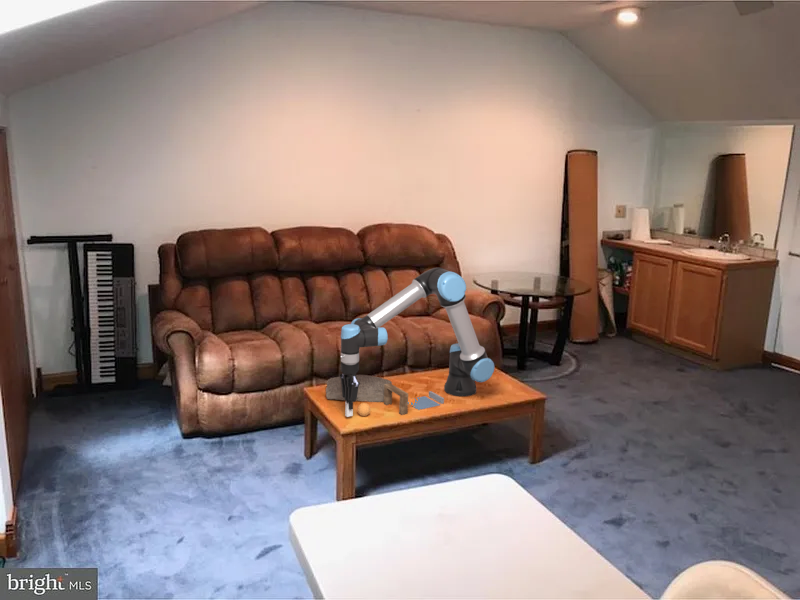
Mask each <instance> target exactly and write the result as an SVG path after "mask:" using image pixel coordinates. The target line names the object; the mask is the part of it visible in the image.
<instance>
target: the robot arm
mask: <svg viewBox="0 0 800 600" xmlns="http://www.w3.org/2000/svg"><path fill="white" fill-rule="evenodd" d="M466 291H467V284H466V282H465V280H464V278H463V277H462V276H461V275H459V274H458V273H457V272H454V271H450V270H448V269H446V268H442V267H433V268H430V269H428V270H426V271H424V272H423V273H421V274H420V275H418V276H417V277H414V278H413V280H411V284H409V285H407V287H405V288H404V289H402V290H400V291H399V292H397V293H396V294H395V295H393V296H392V297H390V298H389V299H387V300H386V301H385V302H383V303H382V304H381V305H379V306H378V307H376V308H375V309H373V310H372V311H371V312H369V313H368V314H367V315H365V316H363V317H362V318H359V317H358V318H355V319H353V320H352V321H351V323H349V324H344V325H343V326H342V327H341V332H340V372H341V373H340V374H339V377H340V379H341V386H342V396H343V398H345V400H344V401H345V408H344V409H345V417H347V418H348V417H353V415H354V414H353V413H354V402H355V403H356V402H357V401H356V399H357V393H358V387H359V385H360V382H357V380H356V378H357V377H356V375H357V373H358V372H359V371H360V349H361V348H368V347H369V348H370V347H380V346H385V345H386V344H387V343H388V340H389V338H388V332H387V329H386V327H383V326H384V325H385V324H386V323H387V322H389V321H391V320H392V319H393V318H395V317H396V316H397V315H399V314H400V313H402V312H403V311H405V310H406V309H408V308H409V307H410V306H412V305H413V304H415V303H416V302H417V301H419V300H420V299H421V298H423V299H425V298H427V297H428V296H430V295H435V296H436V297H437V298H436V299H437V300H438V302H439V304H440V306H441V307H443V308H444V309H445V311H446V314H447V316H448V319H449V321H450V325H451V327H452V329H453V330H452V331H453V333H454V335H455V337H456V340H457V343H456V342H455V343H453V344H451V346H450V348H449V365H448V376H447V378H446V381H445V384H444V385H443V386H444V388H443V391H444V393H446V394H448V395H451V396H453V397H454V396H455V397H471V396H475V394H476V393H477V385H476V383H484V382H487V381H488V380H489V379H490V378H492V376H493V374H494V372H495V363H494V361H493V359H491V358H490V357H488V354H487V352H486V349H485V347H484V346H482V345H480V343H479V340H478V336H477V334H476V331H475V329H474V325H473V324H472V323H473V322H472V320H471V317H470V315H469V312H468V309H467V305H466V303H465V300H466V297H467V296H466Z"/></svg>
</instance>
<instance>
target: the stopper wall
mask: <svg viewBox="0 0 800 600" xmlns="http://www.w3.org/2000/svg"><path fill="white" fill-rule="evenodd" d="M428 398H429V399H431V400H433V401H435V402H436V403H438V404H440V405H442V404H445V403H444V402H445V398H444V397H442V396H441V395H439V394H437V393H436V392H433V391H430V390H429V391H428Z"/></svg>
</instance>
